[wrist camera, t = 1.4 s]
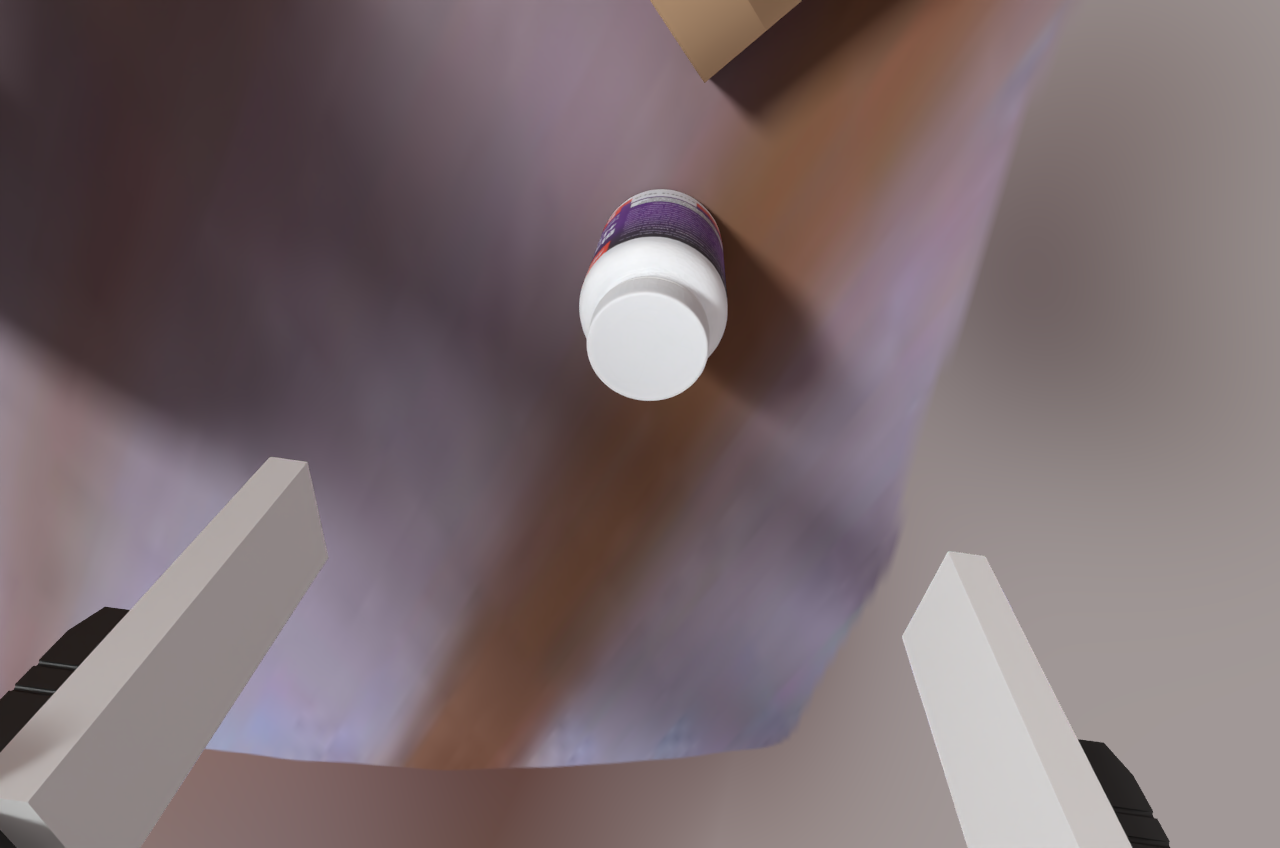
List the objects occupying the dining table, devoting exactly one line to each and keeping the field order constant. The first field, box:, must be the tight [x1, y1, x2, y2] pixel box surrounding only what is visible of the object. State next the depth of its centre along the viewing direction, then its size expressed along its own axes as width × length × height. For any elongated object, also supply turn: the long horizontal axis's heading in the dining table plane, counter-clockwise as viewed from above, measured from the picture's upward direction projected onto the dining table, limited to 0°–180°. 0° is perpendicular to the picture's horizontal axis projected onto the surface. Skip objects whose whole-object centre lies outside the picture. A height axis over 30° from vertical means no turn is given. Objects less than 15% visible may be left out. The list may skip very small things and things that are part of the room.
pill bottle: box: [579, 189, 727, 401], centre depth 25 cm, size 5×5×10 cm
